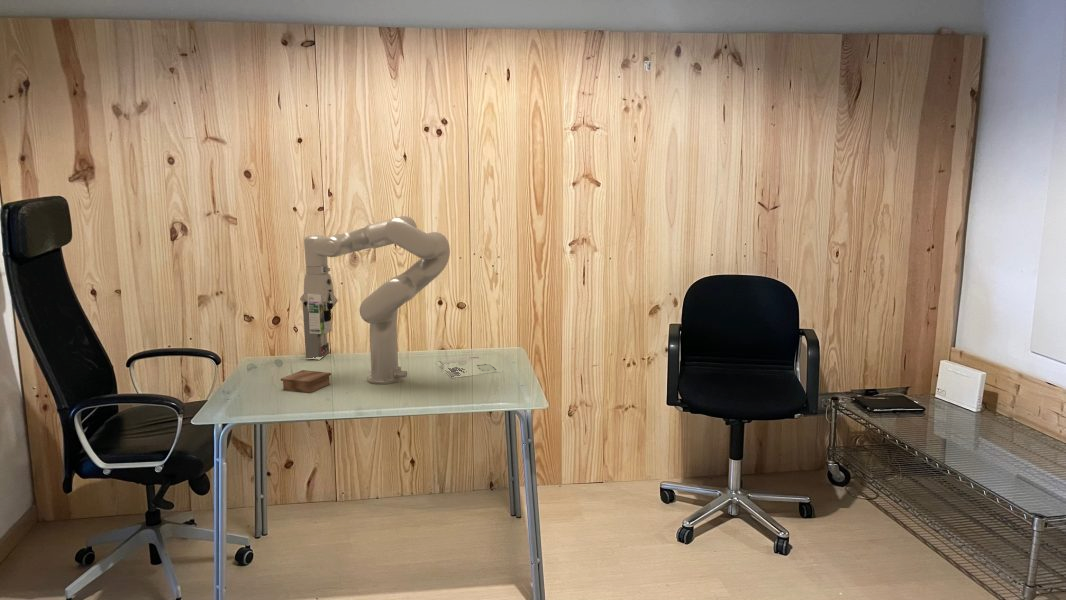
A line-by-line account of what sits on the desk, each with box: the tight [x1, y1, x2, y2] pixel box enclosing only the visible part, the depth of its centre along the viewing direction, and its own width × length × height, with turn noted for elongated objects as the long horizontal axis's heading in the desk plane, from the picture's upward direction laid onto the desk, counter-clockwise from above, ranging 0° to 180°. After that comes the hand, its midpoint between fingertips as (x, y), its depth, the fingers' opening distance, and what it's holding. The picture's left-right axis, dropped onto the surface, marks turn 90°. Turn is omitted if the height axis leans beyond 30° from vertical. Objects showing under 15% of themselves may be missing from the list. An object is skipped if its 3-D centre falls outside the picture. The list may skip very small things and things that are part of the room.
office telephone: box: [438, 356, 481, 377], centre depth 292 cm, size 23×3×20 cm
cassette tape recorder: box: [302, 302, 330, 359], centre depth 311 cm, size 14×6×25 cm, turn 0°
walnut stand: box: [280, 369, 332, 393], centre depth 268 cm, size 12×12×4 cm
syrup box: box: [308, 294, 332, 334], centre depth 276 cm, size 6×6×14 cm
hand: (320, 320), depth 276 cm, fingers closed on syrup box, 5 cm apart
